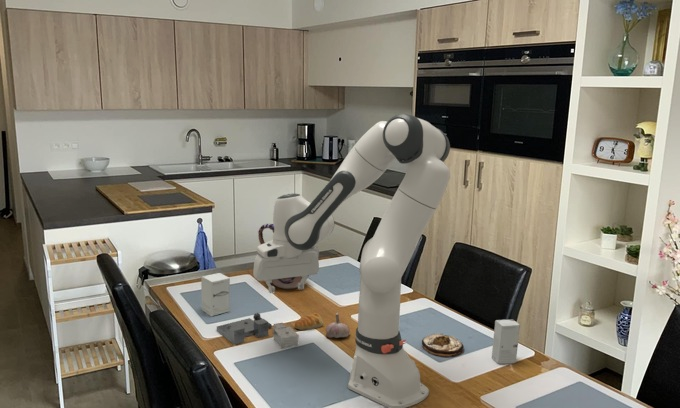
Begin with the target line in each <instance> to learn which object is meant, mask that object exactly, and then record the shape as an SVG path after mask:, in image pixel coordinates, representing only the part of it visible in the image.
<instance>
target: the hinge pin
mask: <svg viewBox="0 0 680 408" xmlns="http://www.w3.org/2000/svg"><path fill="white" fill-rule="evenodd" d="M253 319H254V321H257V320H261V319H263V318H262V317H261V314H260V313H259V312H256V313H254V314H253ZM271 328H273V326H272V324H271V323H270V322H269V321H268V330H269V329H271Z"/></svg>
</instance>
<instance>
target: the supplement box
mask: <svg viewBox="0 0 680 408" xmlns="http://www.w3.org/2000/svg"><path fill="white" fill-rule="evenodd" d="M200 278H201V280H200V281H201V284H200V285H201V289H200V290H201V311H203V312H204V313H205V314H207V315H208V316H210V317H213V316H217V315H220V314H224V313H229V312H230V311H231V307H230V302H231V301H230V297H231V296H230V293H231V292H230V290H231V288H230V287H231V285H230V283H231V281H230V279H231V278H230V277H229V276H227V275H226V274H223V273H221V272H217V273H213V274H208V275H203V276H201V277H200Z"/></svg>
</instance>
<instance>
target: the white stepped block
mask: <svg viewBox="0 0 680 408" xmlns="http://www.w3.org/2000/svg"><path fill="white" fill-rule="evenodd" d="M272 338H273V341H274V342H275V343H276V344H277V345H278V347H279V348H280V349H282V350H283V349H287V348H293V347H298V346H299V334H298V333H297V332H296V331H295V329H293V328H292V327H291V326H290V325H288V326H286V325H285V324H284V322H278V323H273V337H272Z"/></svg>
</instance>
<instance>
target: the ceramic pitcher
mask: <svg viewBox="0 0 680 408" xmlns="http://www.w3.org/2000/svg"><path fill="white" fill-rule="evenodd" d="M266 229H269V230H271V231H272V233H273V234H274V225H273V223H264V224H262V225H261V226H260V228H259V230H258V231H257V233H258V242H259V245H261V244H264V243H266V242H265V240H264V234H263V231H264V230H266ZM309 277H310V275H308V278H309ZM301 279H302V277H301V276H298V277H289V278H281V279H273V280H272V283H271V284H273V286H276V287H277V288H280V289H284V290H292V289H296V288H297V289H298V283H299V282H300V281H301Z"/></svg>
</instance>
